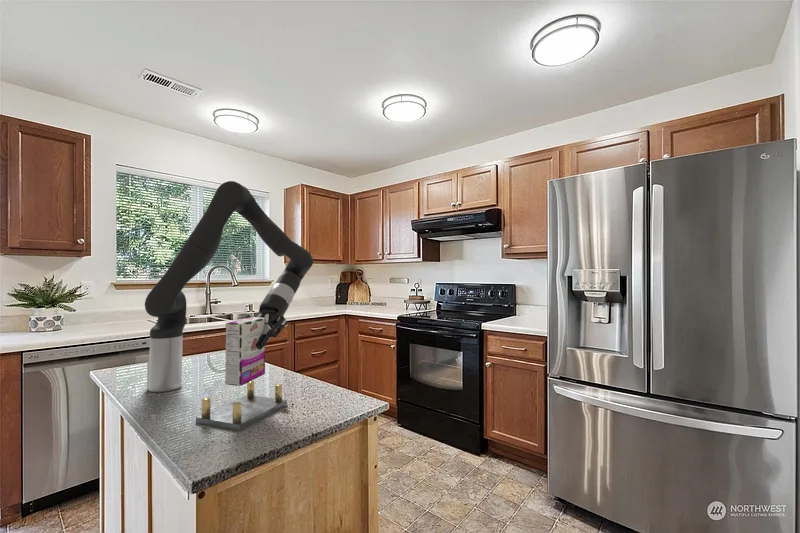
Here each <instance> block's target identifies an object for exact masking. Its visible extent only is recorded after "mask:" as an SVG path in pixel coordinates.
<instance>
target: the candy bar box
mask: <svg viewBox="0 0 800 533" xmlns="http://www.w3.org/2000/svg"><path fill="white" fill-rule="evenodd" d="M245 318H246V317H245ZM245 318H242V319H238V320H234V321H229V322H225V385H226V386H238V387H241V386H243V385H247V383H248V382H250V381H255V380H256V379H258V378H259V377H262V376H263V375H265V374H266V345H265V346H264V347H263V348H262V349H261V350H260V349H258V348H257V347H256V343H257V342H258V340H259V338H260V337H261V335H262V334H263V332H264V325H265V318H260V317H251V318H246V319H245Z"/></svg>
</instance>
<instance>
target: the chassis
mask: <svg viewBox="0 0 800 533" xmlns="http://www.w3.org/2000/svg"><path fill="white" fill-rule="evenodd" d="M286 406H288V400H287V399H283V384H282V383H277V384H275V385H274V397H267V396H260V395H255V380H252V381H250V382H248V383H246V395H244V396H242V397H240V398H237V399H235V400H233V401H231V402H227V403H226V404H223V405H221V406H219V407H217V408H214V409H212V410H211V397H204V398H203V397H202V399H201V414H200V415H198V416H196V417H195V424H198V425H204V426H210V427H215V428H219V429H220V428H221V429H225V430H230V431H231V430H232V431H238V432H240V431H242V430H244V429H246V428H248V427H250V426H252V425H254V424H256V423H257V422H259V421H261V420H263V419H264V418H266V417H268V416H270V415H273V413H276V412H277V411H280V410H281V409H283V408H284V407H286Z"/></svg>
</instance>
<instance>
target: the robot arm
mask: <svg viewBox="0 0 800 533" xmlns="http://www.w3.org/2000/svg"><path fill="white" fill-rule="evenodd" d="M235 212H236V213H237V214H239V215H240V216H242V218H244V219H245V220H246V221H247V222H248V223H249V224H250V225H251V226H252V228H253V229H254V231H256V233H257V235H258V236H259V238H260V239H261V240H262V241H263V243H264V244H265V245H266V246H268V248H269V249H270V251H272V252H273V253H274V254H275V255H276V256H277V257H284V256H286V257H287V258H289V260H288V262H287V264H286V266H285V267H284V269H283V271H282V273H281V275H280V276H279V277H278V278H277V279H276V281H275V283H274V284H273V286H272V287H271V288H270V289H269V291H268V292H267V293H266V295H265V296H264V299H263V301H262V302H261V303H260V304H259V310H258V312H257V313H255V314H254V315H252V316H251V314H247V315H246V316H245V318H244V319H246V318H251V317H260V318H265V325H264V332H263V334H262V335H261V337H260V338H259V340H258V342H257V343H256V347H257V348H258V349H260V350H261V349H262V348H263V347H264V346H265V347H266V344H267V343H268V340H270V339H271V338H277V337H278V336H279V334H280V333H281V332H282V331H283V329H284V328H285V326H286V325H287V324H288V320H287V319H286V317H285V314H286V312H287V311H288V309H289V307H290V305H291V303H292V302H293V299H294V297H295V296H296V294H297V291H298V289H299V288H300V286H301V282H302V280H303V279H304V278H305V275H306V274H307V273H308V272H309V270H310V269H311V267H312V266H313V264H314V258H313V256H312V255H311V253H310V252H309V251H308V250H307V249H306V248H304V247H303V246H301V245H299V244H298V243H297V242H295V241H293V240H292V239H291V238H290V237H289V236H288V235H287V234H286V233H285V232H284V231H283V230H282V229H281V228H280V227H279V226H278V225H277V224H276V223H275V222H274V221H273V220H272V219H271V218H270V217H269V216H268V215H267V214H266V212H265V211H264V210H263V209H262V207H261V206H260V204H259V203H258V202H257V200H256V199H255V198H254V196H253V194H252V193H251V191H250V190H249V189H248V188H247V187H246V186H245V185H243V184H241V183H239V182H237V181H234V180H227V181H224V182H222V183H221V184H220V185H219V186H218V187H217V189H216V191H215V192H214V195H213V196H212V198H211V200H210V202H209V205H208V207H207V209H206V211H205V212H204V214H203V215H202V217H201V218H200V220H199V221H198V223H197V224H196V226H195V227H194V229H193V231H192V232H191V233H190V234H189V236H188V238H187V239H186V241H185V242H184V243H183V245H182V247H181V248H180V250H179V252H178V254H177V255H176V257H175V258H174V259H173V261H172V263H171V264H170V265H169V267H168V269H167V271H166V272H165V273H164V274H163V276H162V277H161V279H159V281H157V283H156V284H155V285H154V287H153V288H152V289H151V290H150V292H149V293H148V294H147V296H146V298H145V300H144V309H145V312H146V313H147V314H148V315H149V316H151V317H155V318H157V322H156V323H155V324H154V325H153V327H152V328H150V330H149V357H148V358H149V359H147V372H146V373H147V374H146V388H147V389H146V390H148V391H149V392H151V393H152V392H153V393H162V392H169V391H170V392H171V391H174V390H177V389H179V388H181V387H182V385H183V382H182V381H183V378H182V377H183V334H184V333H183V331H184V328H185V326H186V321H187V320H186V319H187V299H186V296H185V293H184V292H183V291H182V290H183V289H184V287H185V286H186V284H187V283H188V282H189V281H190V280H192V279H193V278H194V277H195V276H196V275H198V274H199V273H200V272H201V271H202V270H203V269H204V268H205V267H206V266H207V265H208V264H209V263H210V261H211V260H212V258H213V257H214V256H215V253H216V252H217V250H218V249H219V247H220V244H221V239H222V235H223V231H224V229H225V226H226V224H227V222H228V221H229V219H230V218H231V216H232V215H233V214H234V213H235Z"/></svg>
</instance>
